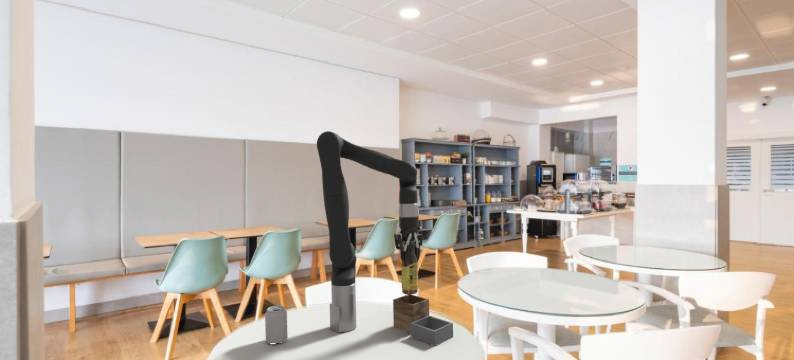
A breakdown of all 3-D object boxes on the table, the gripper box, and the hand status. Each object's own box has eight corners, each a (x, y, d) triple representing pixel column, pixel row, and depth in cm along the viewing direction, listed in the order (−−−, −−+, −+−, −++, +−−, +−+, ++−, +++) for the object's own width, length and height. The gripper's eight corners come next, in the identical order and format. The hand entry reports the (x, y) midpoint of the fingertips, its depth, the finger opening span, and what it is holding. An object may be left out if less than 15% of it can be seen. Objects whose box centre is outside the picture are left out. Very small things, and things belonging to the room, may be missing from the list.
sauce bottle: (412, 296, 146) (410, 243, 146) (398, 293, 150) (397, 241, 150) (421, 291, 152) (420, 240, 151) (408, 289, 156) (407, 239, 155)
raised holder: (413, 333, 144) (412, 305, 144) (393, 326, 152) (393, 299, 151) (429, 326, 151) (428, 299, 151) (410, 320, 158) (409, 294, 158)
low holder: (434, 346, 134) (434, 331, 134) (410, 336, 142) (410, 323, 142) (453, 336, 141) (452, 323, 141) (429, 328, 149) (429, 315, 149)
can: (267, 347, 136) (266, 312, 135) (264, 339, 142) (263, 306, 142) (289, 342, 139) (288, 309, 139) (285, 335, 146) (284, 303, 145)
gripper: (414, 213, 158) (415, 254, 159) (388, 216, 148) (389, 260, 148) (428, 214, 153) (429, 257, 153) (402, 217, 143) (403, 263, 143)
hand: (409, 258), depth 151 cm, fingers closed on sauce bottle, 5 cm apart
